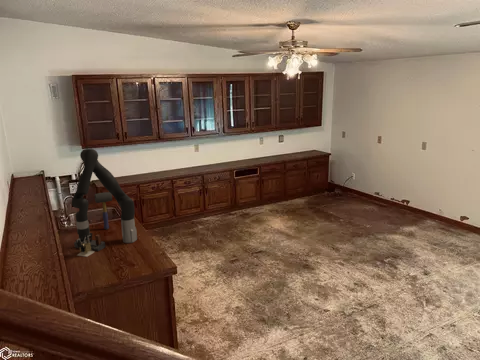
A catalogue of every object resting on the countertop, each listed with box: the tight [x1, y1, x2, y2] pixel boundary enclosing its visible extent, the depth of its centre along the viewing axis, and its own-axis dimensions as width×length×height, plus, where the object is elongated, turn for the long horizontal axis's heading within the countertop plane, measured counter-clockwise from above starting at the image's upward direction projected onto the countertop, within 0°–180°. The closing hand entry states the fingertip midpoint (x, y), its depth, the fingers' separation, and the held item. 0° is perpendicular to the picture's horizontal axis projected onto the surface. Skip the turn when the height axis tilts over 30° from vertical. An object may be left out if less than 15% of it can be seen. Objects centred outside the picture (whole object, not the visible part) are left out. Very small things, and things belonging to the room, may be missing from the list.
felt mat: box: [77, 250, 96, 258], centre depth 248 cm, size 8×8×1 cm
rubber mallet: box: [94, 191, 113, 230], centre depth 286 cm, size 12×8×30 cm, turn 117°
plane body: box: [73, 234, 106, 252], centre depth 256 cm, size 20×7×10 cm, turn 73°
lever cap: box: [78, 242, 92, 253], centre depth 247 cm, size 6×4×6 cm
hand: (85, 250), depth 248 cm, fingers closed on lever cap, 4 cm apart
